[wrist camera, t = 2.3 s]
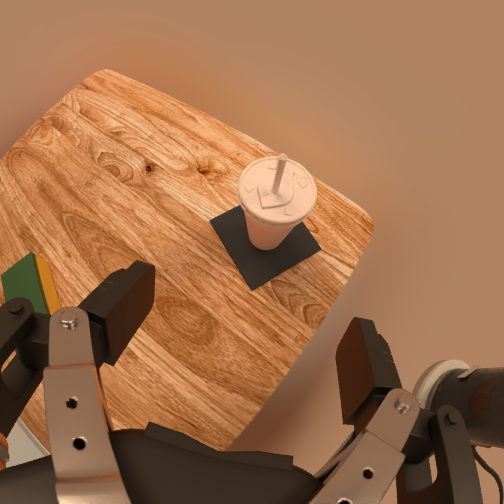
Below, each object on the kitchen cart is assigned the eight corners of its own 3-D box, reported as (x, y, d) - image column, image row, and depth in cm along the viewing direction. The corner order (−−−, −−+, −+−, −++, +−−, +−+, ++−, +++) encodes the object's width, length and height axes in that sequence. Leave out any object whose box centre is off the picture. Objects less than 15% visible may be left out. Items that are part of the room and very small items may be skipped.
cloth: (320, 249, 31) (321, 248, 31) (251, 290, 29) (251, 290, 29) (277, 187, 33) (277, 186, 33) (209, 221, 31) (209, 220, 31)
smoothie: (224, 241, 30) (218, 159, 17) (257, 198, 32) (271, 107, 19) (275, 273, 29) (307, 211, 16) (304, 227, 31) (347, 148, 18)
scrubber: (68, 328, 26) (49, 324, 22) (36, 347, 25) (16, 345, 21) (48, 262, 28) (30, 251, 24) (18, 283, 27) (0, 275, 23)
